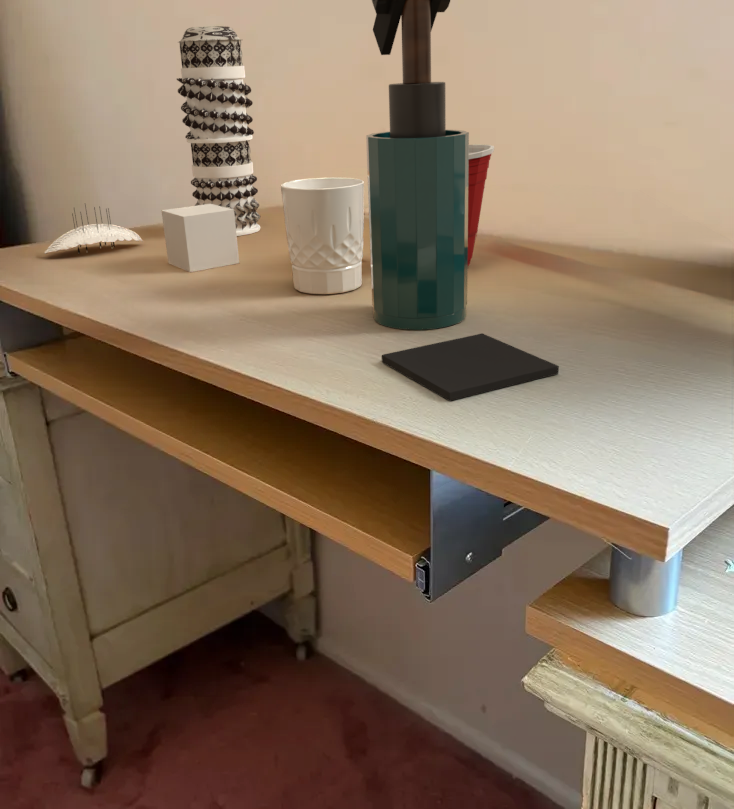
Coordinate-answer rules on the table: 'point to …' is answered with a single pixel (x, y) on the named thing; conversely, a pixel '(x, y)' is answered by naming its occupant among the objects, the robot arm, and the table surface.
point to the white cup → (325, 233)
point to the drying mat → (468, 366)
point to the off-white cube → (200, 237)
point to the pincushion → (92, 235)
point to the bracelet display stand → (219, 122)
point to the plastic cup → (476, 189)
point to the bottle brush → (417, 80)
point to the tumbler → (418, 229)
